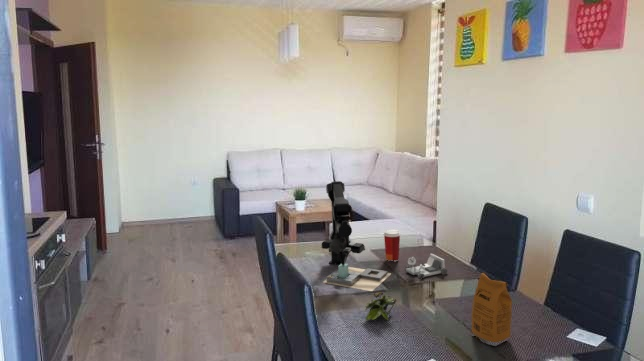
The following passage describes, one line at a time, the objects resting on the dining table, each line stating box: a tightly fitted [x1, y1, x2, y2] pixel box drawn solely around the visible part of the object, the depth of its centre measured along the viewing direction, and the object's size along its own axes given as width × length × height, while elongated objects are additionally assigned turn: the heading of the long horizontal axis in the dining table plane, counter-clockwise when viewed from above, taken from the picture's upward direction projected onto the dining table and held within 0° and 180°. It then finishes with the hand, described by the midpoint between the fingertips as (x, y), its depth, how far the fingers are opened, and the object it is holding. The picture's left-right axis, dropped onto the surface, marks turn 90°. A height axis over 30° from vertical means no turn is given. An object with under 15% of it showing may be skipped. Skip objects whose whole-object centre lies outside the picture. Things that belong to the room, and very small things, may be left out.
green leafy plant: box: [364, 292, 397, 322], centre depth 193 cm, size 11×11×12 cm
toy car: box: [404, 253, 448, 279], centre depth 235 cm, size 18×10×12 cm
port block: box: [326, 269, 361, 286], centre depth 229 cm, size 10×12×2 cm
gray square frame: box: [361, 267, 389, 281], centre depth 233 cm, size 9×10×1 cm
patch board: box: [322, 266, 392, 292], centre depth 231 cm, size 22×24×1 cm
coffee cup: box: [382, 229, 401, 261], centre depth 252 cm, size 8×8×15 cm
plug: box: [337, 262, 349, 278], centre depth 229 cm, size 4×3×7 cm
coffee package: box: [471, 272, 513, 342], centre depth 173 cm, size 10×12×22 cm
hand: (343, 264), depth 228 cm, fingers closed
